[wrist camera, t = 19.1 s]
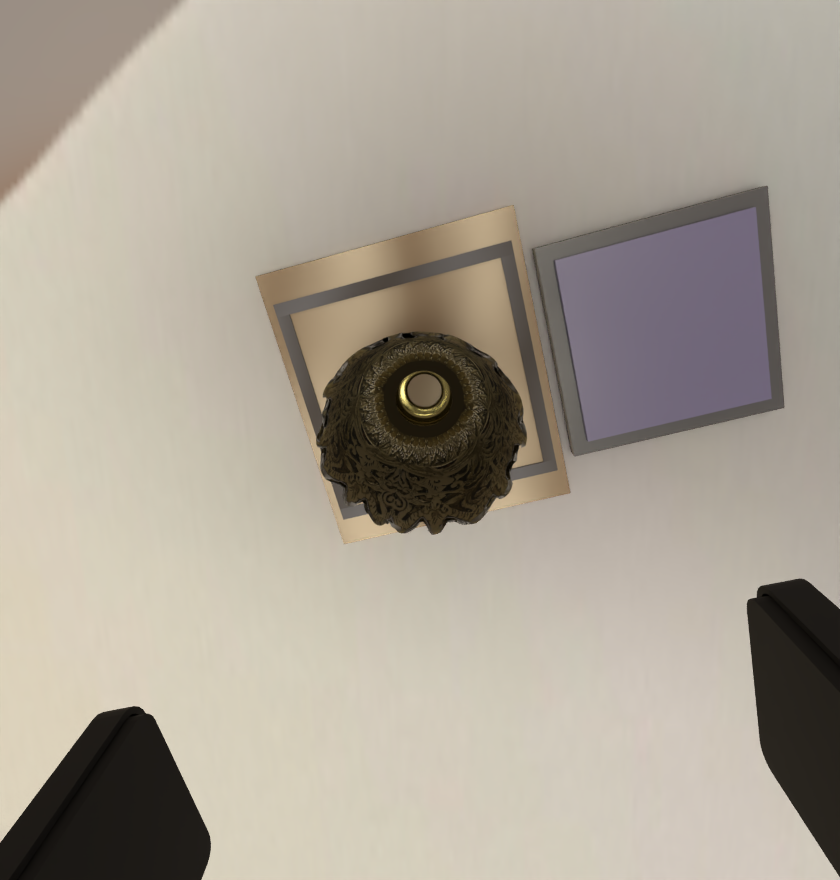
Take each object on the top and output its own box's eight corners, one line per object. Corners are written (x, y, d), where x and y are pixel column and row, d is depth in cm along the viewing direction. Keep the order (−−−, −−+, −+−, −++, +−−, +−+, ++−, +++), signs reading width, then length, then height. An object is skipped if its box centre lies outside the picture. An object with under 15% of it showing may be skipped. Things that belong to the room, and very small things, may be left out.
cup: (370, 291, 26) (344, 304, 19) (523, 337, 27) (557, 368, 19) (332, 440, 29) (293, 505, 21) (473, 480, 29) (486, 559, 21)
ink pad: (758, 187, 25) (771, 185, 24) (776, 403, 28) (788, 409, 27) (532, 248, 26) (536, 248, 25) (571, 451, 29) (576, 458, 28)
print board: (512, 205, 26) (513, 204, 25) (568, 489, 30) (570, 493, 29) (257, 276, 27) (254, 276, 26) (345, 540, 31) (343, 545, 30)
